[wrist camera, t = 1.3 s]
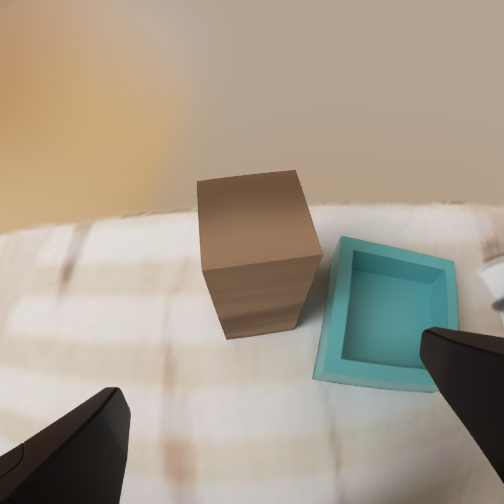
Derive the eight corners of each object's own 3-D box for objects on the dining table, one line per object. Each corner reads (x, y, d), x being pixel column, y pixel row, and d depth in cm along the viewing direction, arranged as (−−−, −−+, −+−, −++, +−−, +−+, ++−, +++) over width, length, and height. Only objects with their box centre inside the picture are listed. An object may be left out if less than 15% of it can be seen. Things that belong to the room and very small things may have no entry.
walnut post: (293, 329, 22) (322, 254, 13) (226, 339, 22) (201, 270, 12) (281, 270, 25) (295, 170, 15) (219, 279, 24) (196, 181, 15)
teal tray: (431, 392, 19) (456, 386, 16) (312, 379, 20) (322, 371, 17) (435, 280, 24) (454, 261, 21) (331, 259, 25) (341, 235, 22)
